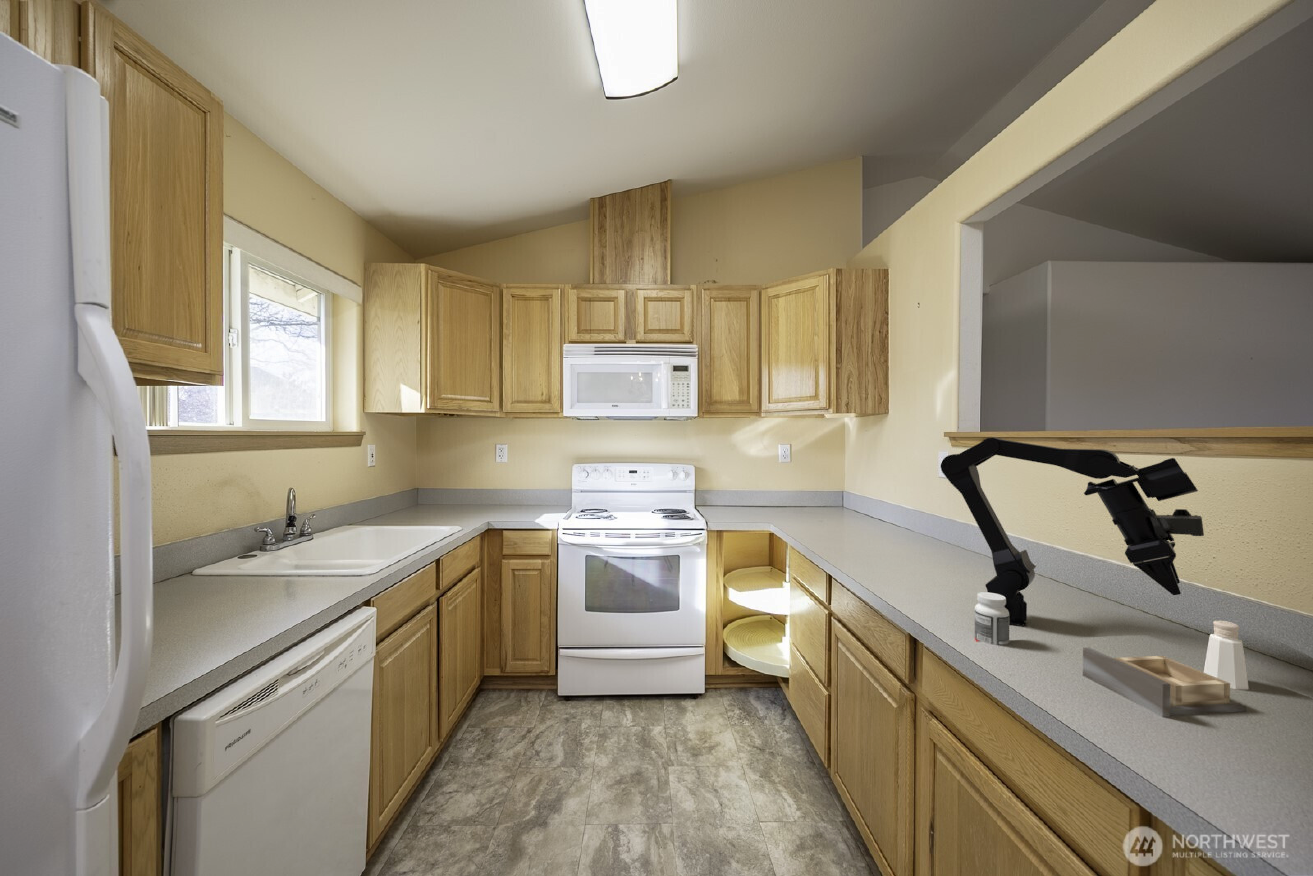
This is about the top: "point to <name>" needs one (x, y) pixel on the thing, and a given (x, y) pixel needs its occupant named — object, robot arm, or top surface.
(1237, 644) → the pepper shaker
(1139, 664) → the light wooden tray
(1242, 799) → the top surface
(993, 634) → the pill bottle
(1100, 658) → the open wooden tray
